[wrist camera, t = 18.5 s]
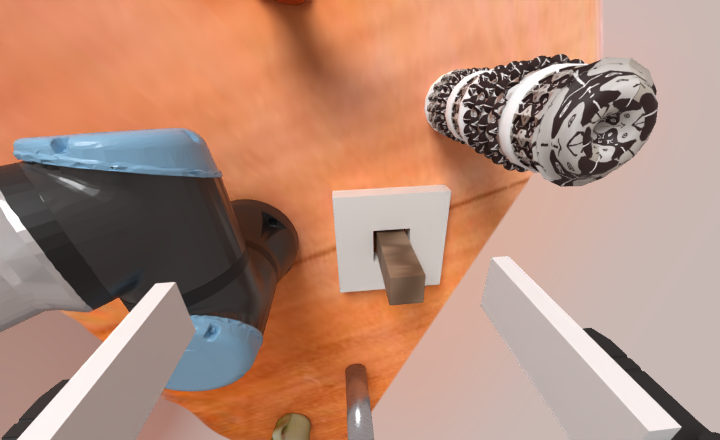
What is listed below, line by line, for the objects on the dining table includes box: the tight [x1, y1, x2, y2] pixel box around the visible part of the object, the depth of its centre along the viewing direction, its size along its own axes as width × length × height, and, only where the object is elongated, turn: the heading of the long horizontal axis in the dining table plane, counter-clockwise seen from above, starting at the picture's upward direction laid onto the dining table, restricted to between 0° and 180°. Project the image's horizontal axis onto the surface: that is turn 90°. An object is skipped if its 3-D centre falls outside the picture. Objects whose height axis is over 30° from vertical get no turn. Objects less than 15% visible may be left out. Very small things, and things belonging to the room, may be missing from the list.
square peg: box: [375, 229, 426, 305], centre depth 42 cm, size 4×4×14 cm
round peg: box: [345, 364, 374, 440], centre depth 57 cm, size 5×5×14 cm
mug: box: [271, 413, 311, 440], centre depth 66 cm, size 12×10×10 cm
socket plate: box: [332, 184, 451, 293], centre depth 46 cm, size 18×18×3 cm
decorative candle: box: [424, 54, 658, 186], centre depth 28 cm, size 9×9×25 cm
